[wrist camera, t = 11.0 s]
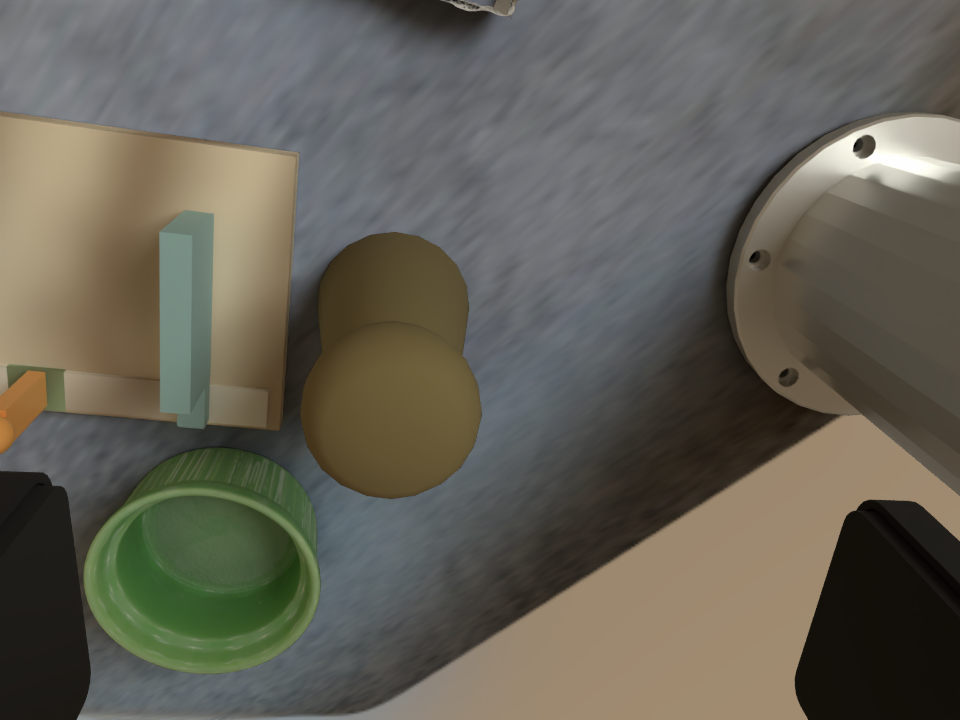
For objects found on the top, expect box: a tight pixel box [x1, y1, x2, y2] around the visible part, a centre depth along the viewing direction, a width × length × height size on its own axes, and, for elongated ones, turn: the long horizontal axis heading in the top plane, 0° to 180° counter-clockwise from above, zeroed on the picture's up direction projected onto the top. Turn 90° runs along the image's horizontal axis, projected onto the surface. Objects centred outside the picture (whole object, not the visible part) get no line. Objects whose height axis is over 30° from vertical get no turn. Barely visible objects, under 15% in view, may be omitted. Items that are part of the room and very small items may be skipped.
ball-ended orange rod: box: [0, 371, 47, 454], centre depth 27 cm, size 1×1×4 cm
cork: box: [300, 232, 482, 499], centre depth 26 cm, size 6×6×11 cm
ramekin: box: [83, 448, 321, 674], centre depth 32 cm, size 9×9×4 cm
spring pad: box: [159, 210, 214, 429], centre depth 28 cm, size 1×8×3 cm, turn 171°
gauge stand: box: [0, 111, 299, 431], centre depth 27 cm, size 12×11×6 cm
